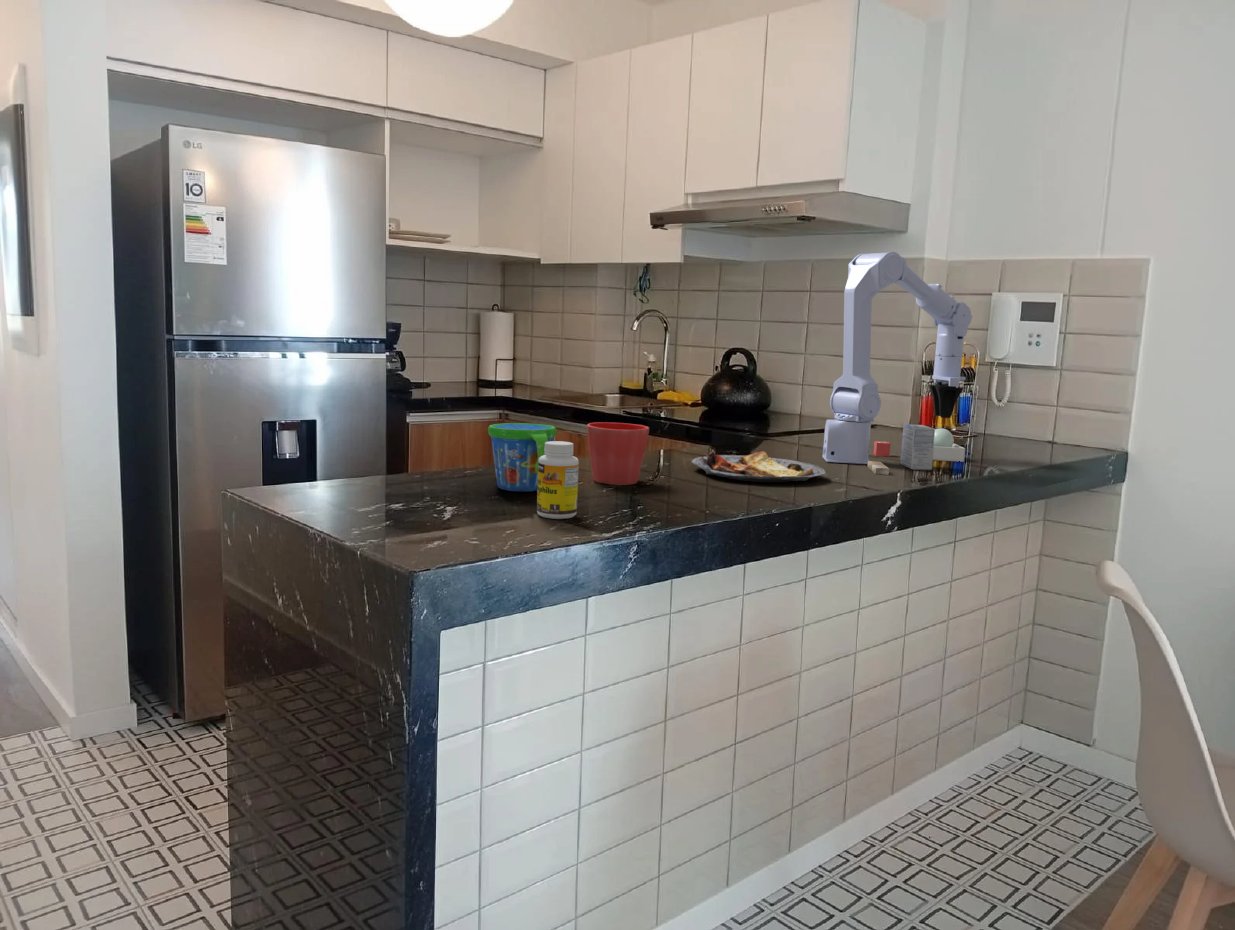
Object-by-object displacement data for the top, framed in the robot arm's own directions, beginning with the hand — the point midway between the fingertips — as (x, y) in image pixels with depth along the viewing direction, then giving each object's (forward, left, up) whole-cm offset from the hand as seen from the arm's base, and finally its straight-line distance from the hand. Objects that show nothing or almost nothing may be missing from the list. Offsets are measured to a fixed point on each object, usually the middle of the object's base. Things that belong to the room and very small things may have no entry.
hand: (942, 416), depth 209 cm
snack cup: (-82, -71, -10) cm, 109 cm away
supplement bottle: (-73, -90, -10) cm, 116 cm away
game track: (-18, -27, -9) cm, 34 cm away
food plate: (-43, -41, -10) cm, 60 cm away
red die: (-13, -1, -9) cm, 16 cm away
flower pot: (-68, -58, -10) cm, 90 cm away
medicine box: (-9, -18, -10) cm, 22 cm away
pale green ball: (0, 0, -8) cm, 8 cm away
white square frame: (0, 0, -9) cm, 9 cm away
